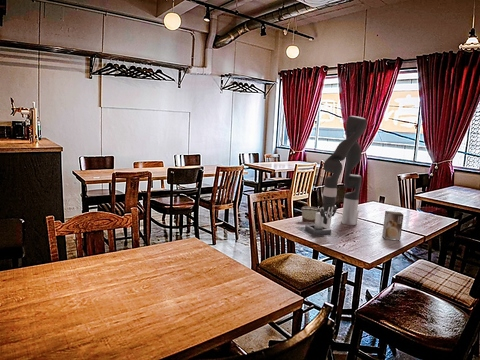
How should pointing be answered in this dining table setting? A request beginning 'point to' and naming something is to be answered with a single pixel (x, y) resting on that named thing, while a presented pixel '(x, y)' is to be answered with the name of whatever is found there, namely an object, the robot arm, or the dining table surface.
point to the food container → (309, 213)
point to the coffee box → (392, 225)
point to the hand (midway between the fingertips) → (326, 223)
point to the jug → (321, 222)
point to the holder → (317, 231)
